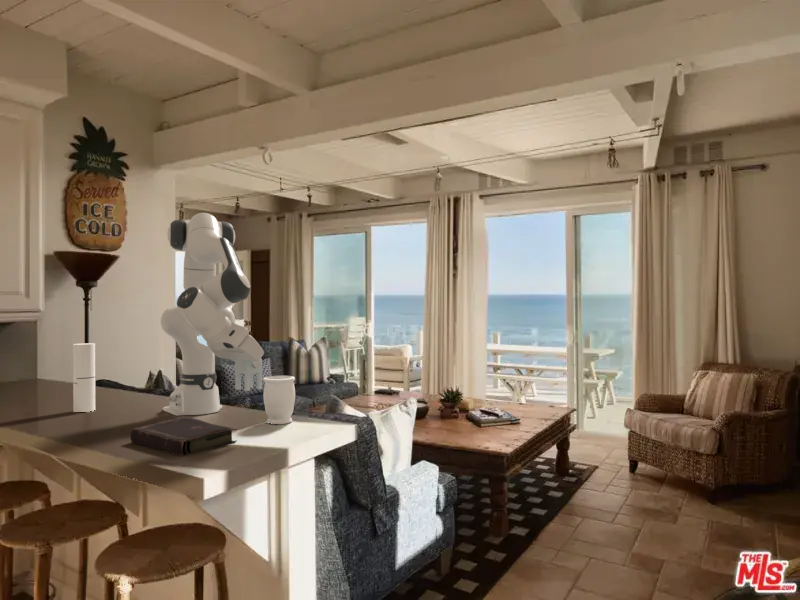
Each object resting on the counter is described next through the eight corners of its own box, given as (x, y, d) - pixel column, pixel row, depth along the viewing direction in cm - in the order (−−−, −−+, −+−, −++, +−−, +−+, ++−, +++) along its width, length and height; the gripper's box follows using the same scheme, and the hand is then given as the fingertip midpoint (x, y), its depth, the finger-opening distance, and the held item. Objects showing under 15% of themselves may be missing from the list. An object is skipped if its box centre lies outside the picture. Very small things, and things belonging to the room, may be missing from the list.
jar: (287, 426, 182) (287, 379, 182) (258, 425, 184) (257, 379, 184) (300, 419, 193) (299, 375, 193) (271, 418, 195) (271, 375, 195)
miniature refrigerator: (88, 412, 206) (88, 344, 206) (69, 413, 206) (68, 344, 206) (99, 409, 213) (98, 343, 214) (80, 409, 214) (80, 343, 214)
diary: (180, 459, 147) (180, 440, 147) (130, 445, 162) (129, 428, 162) (239, 443, 162) (238, 426, 162) (188, 432, 177) (187, 416, 177)
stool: (235, 389, 169) (235, 358, 169) (250, 387, 173) (250, 356, 173) (246, 391, 165) (246, 359, 165) (262, 388, 170) (262, 357, 170)
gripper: (195, 341, 167) (223, 371, 175) (236, 344, 154) (265, 376, 162) (208, 326, 170) (236, 355, 178) (250, 328, 158) (278, 359, 165)
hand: (250, 365), depth 170 cm, fingers closed on stool, 6 cm apart
